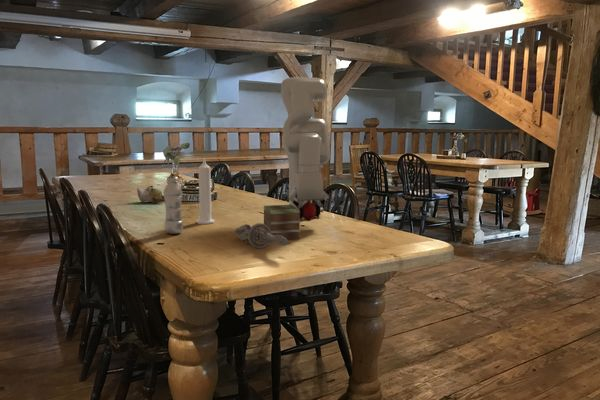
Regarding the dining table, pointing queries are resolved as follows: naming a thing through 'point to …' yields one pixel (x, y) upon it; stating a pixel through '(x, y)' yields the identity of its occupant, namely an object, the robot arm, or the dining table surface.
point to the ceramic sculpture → (150, 195)
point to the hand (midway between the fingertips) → (308, 216)
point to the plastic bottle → (173, 206)
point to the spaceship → (259, 235)
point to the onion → (308, 211)
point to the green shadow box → (283, 220)
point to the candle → (205, 194)
